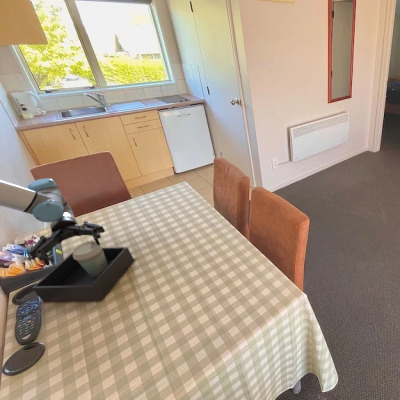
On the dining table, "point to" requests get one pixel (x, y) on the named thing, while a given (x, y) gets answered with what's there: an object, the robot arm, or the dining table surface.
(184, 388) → the dining table surface
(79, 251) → the coffee cup
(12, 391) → the dining table surface
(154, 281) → the dining table surface
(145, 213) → the dining table surface
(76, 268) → the shallow black tray
